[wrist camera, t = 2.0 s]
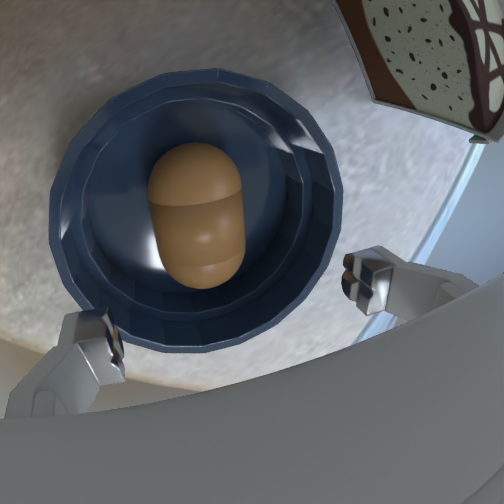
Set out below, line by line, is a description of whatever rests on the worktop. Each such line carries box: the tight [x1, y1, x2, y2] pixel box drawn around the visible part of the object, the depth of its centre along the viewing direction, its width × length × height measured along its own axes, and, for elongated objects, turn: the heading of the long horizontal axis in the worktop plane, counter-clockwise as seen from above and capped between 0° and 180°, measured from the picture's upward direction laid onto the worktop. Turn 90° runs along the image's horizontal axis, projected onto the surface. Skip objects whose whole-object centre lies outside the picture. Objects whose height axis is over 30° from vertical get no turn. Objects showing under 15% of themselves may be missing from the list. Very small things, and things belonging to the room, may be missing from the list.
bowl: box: [49, 68, 343, 353], centre depth 16 cm, size 14×14×5 cm
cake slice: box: [332, 0, 504, 144], centre depth 13 cm, size 12×6×10 cm, turn 26°
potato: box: [148, 142, 246, 289], centre depth 16 cm, size 8×5×5 cm, turn 2°
